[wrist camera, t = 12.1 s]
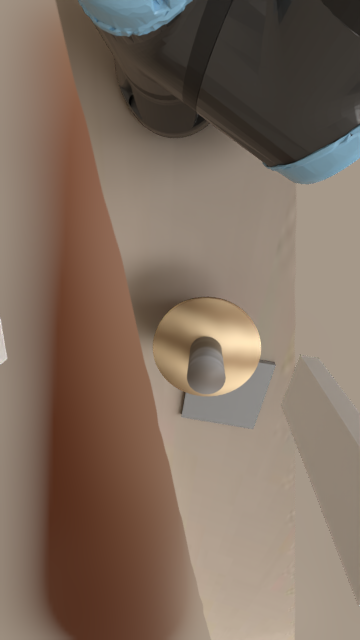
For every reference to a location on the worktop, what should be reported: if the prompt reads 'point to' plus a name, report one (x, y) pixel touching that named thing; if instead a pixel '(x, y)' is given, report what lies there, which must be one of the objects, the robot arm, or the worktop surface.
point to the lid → (206, 346)
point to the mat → (233, 401)
